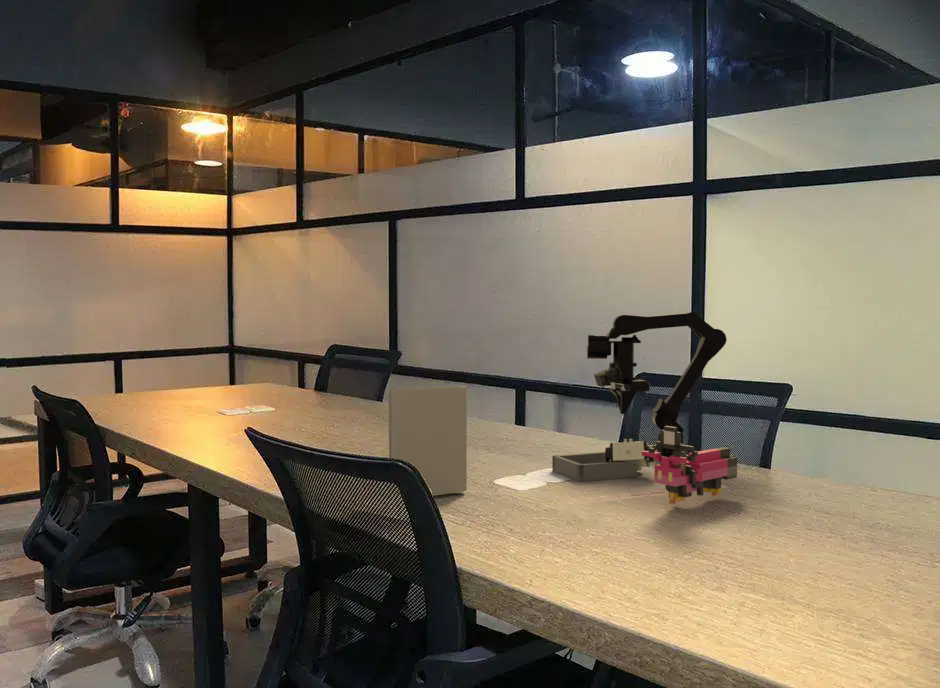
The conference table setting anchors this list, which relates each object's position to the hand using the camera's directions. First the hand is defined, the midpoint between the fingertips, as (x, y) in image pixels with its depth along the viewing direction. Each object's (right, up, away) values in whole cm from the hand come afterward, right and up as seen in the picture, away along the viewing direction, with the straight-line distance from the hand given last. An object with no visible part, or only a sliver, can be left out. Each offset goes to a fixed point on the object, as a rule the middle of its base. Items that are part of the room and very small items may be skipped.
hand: (623, 414), depth 239 cm
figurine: (+7, -15, -53) cm, 55 cm away
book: (-53, -14, -48) cm, 72 cm away
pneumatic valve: (-1, -11, -21) cm, 24 cm away
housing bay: (-11, -13, -25) cm, 31 cm away
